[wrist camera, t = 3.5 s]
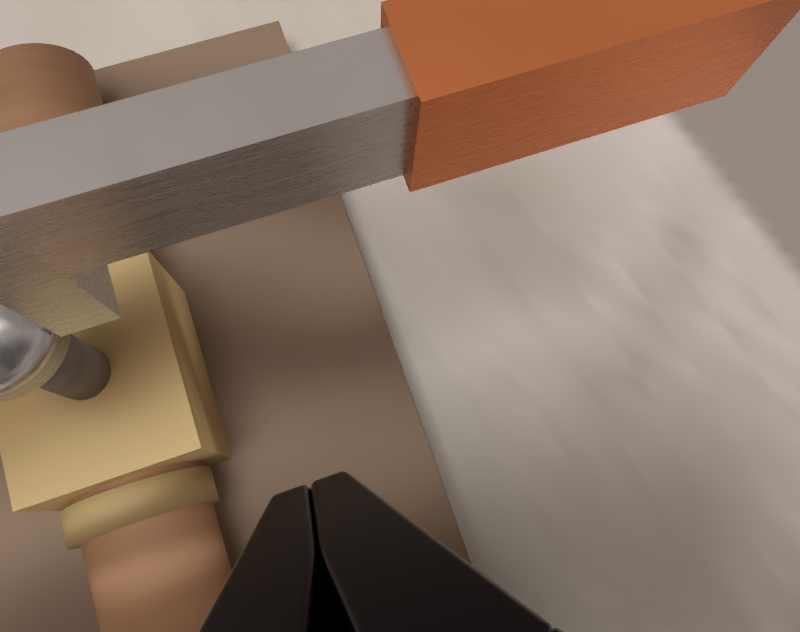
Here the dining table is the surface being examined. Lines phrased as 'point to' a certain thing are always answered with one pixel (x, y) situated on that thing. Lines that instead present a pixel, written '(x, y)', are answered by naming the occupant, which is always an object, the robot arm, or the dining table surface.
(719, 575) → the dining table surface
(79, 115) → the valve lever
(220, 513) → the valve stand
